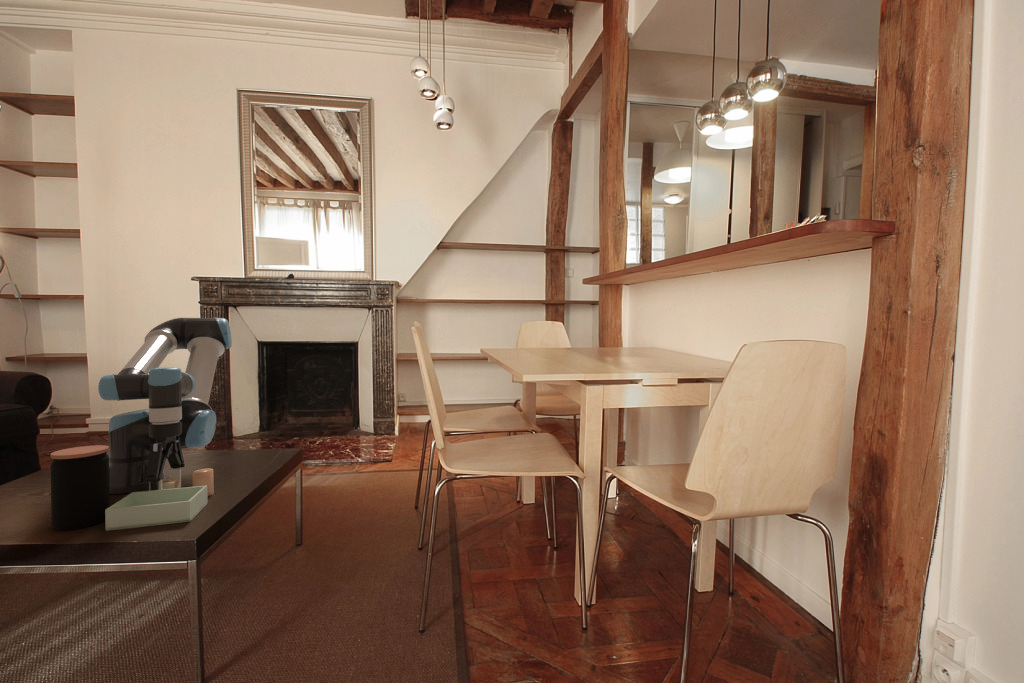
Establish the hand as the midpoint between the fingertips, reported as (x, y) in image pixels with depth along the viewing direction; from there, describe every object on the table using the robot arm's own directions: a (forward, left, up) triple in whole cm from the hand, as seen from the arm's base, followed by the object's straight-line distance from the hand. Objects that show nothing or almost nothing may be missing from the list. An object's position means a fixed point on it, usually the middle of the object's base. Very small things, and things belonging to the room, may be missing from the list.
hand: (166, 497), depth 132 cm
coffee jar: (+13, -13, -1) cm, 19 cm away
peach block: (-1, +9, 0) cm, 9 cm away
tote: (+15, +4, 0) cm, 15 cm away
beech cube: (-1, 0, 0) cm, 1 cm away
